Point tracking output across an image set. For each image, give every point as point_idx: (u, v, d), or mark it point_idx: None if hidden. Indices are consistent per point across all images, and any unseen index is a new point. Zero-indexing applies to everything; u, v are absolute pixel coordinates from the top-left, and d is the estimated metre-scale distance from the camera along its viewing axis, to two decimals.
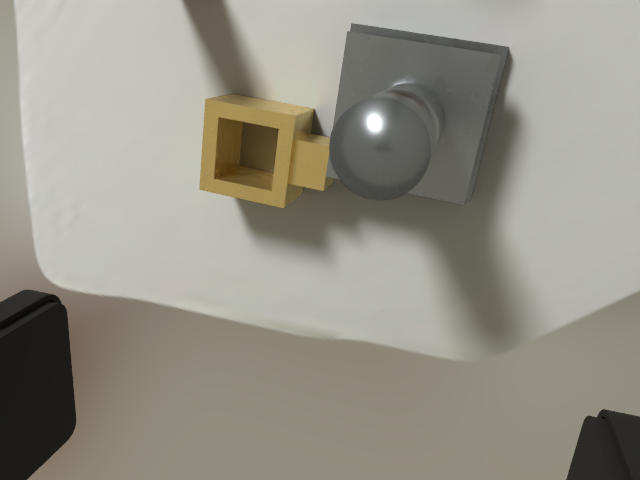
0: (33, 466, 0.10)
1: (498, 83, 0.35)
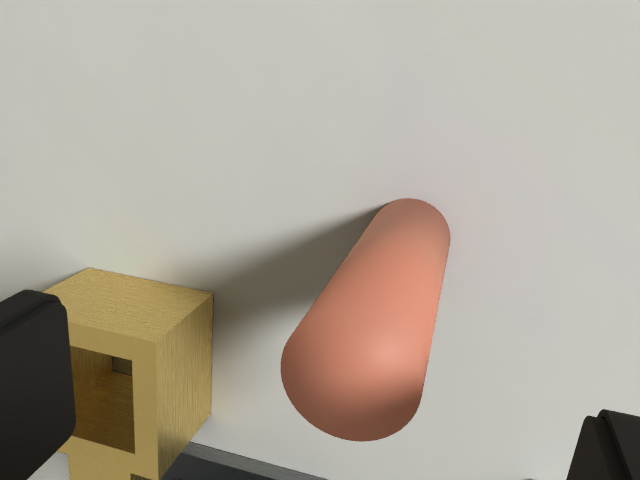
0: (33, 466, 0.10)
1: None
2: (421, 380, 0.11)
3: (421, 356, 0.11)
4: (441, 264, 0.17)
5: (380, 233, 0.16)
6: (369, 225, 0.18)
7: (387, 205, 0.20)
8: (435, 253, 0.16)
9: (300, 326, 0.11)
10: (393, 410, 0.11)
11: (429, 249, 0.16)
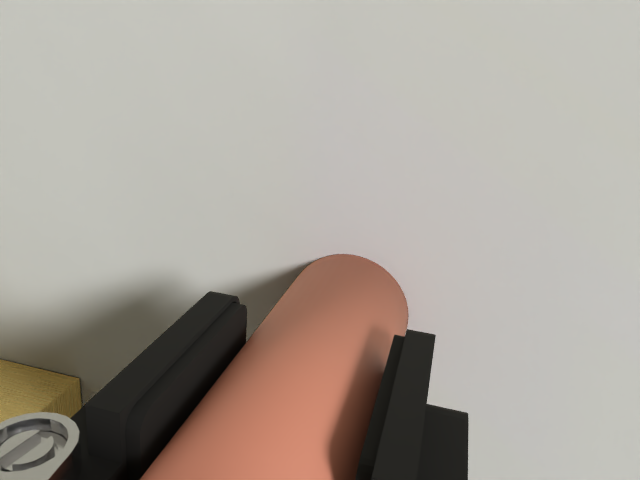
0: None
1: None
2: None
3: None
4: None
5: (272, 343, 0.09)
6: (274, 307, 0.12)
7: (312, 265, 0.13)
8: (370, 374, 0.09)
9: None
10: None
11: (357, 372, 0.09)
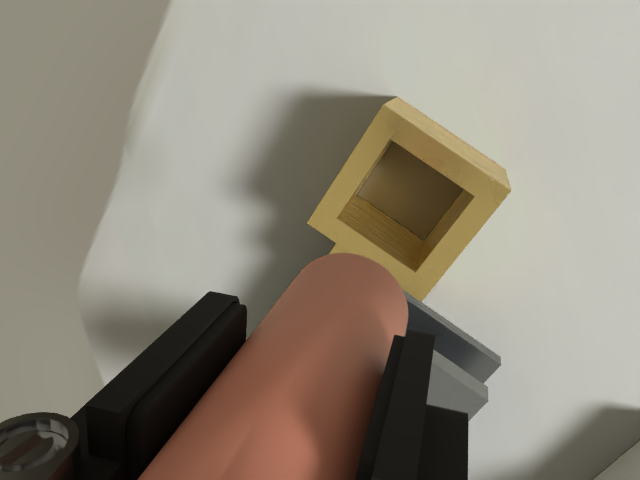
0: None
1: None
2: None
3: None
4: None
5: (272, 341, 0.09)
6: (274, 306, 0.12)
7: (311, 264, 0.13)
8: (370, 373, 0.09)
9: None
10: None
11: (357, 370, 0.09)
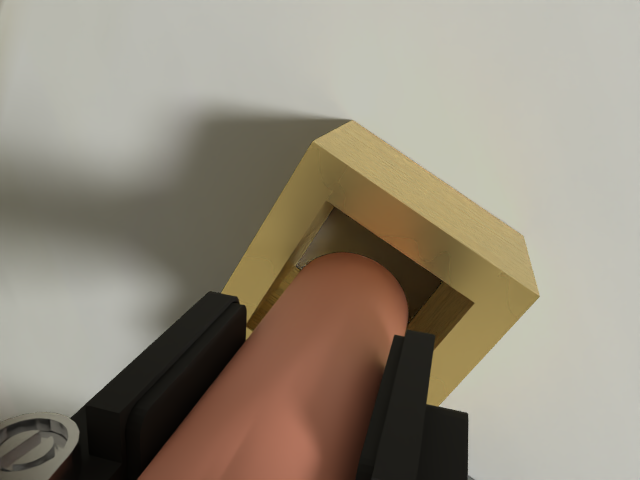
0: None
1: None
2: None
3: None
4: None
5: (272, 341, 0.09)
6: (274, 305, 0.12)
7: (312, 263, 0.13)
8: (370, 372, 0.09)
9: None
10: None
11: (357, 370, 0.09)
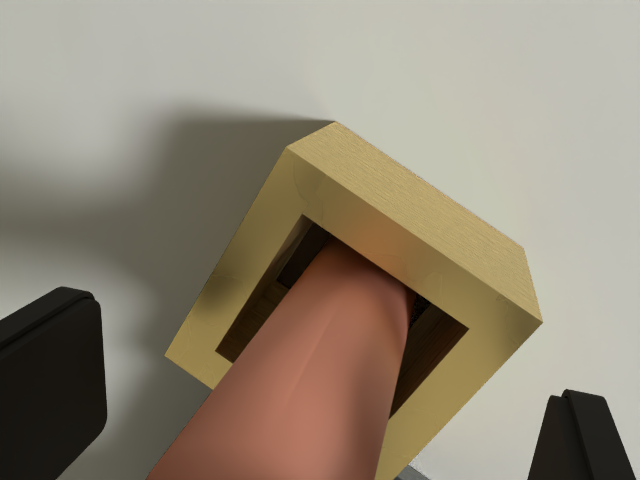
0: (68, 459, 0.10)
1: None
2: None
3: None
4: (404, 316, 0.12)
5: (320, 277, 0.12)
6: (314, 258, 0.14)
7: None
8: (395, 302, 0.12)
9: (162, 461, 0.07)
10: None
11: (386, 298, 0.12)
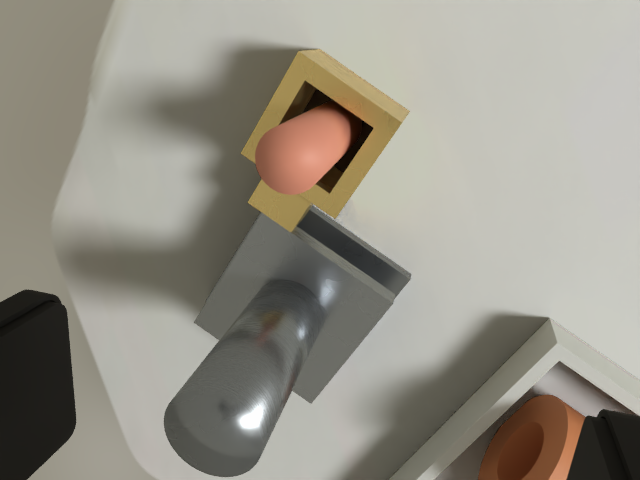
0: (33, 466, 0.10)
1: None
2: (322, 157, 0.23)
3: (323, 148, 0.23)
4: (348, 129, 0.29)
5: (312, 109, 0.28)
6: None
7: None
8: (344, 121, 0.28)
9: (264, 134, 0.23)
10: (310, 175, 0.23)
11: (340, 118, 0.28)
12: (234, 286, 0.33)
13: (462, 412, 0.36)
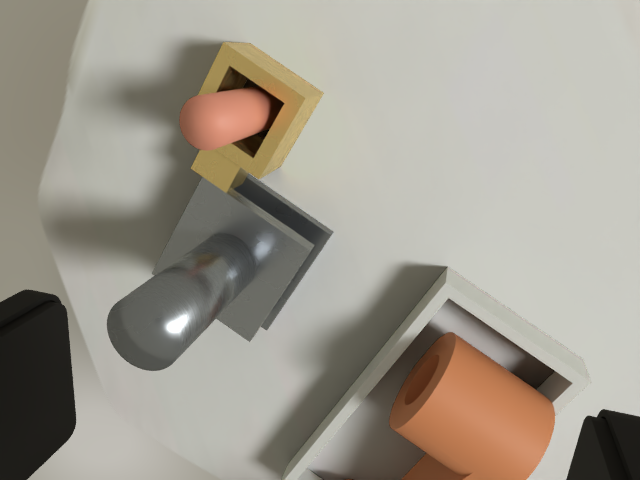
0: (33, 466, 0.10)
1: None
2: (229, 120, 0.30)
3: (231, 113, 0.30)
4: (267, 105, 0.35)
5: None
6: None
7: None
8: (263, 99, 0.35)
9: (185, 103, 0.30)
10: (221, 134, 0.30)
11: (259, 96, 0.35)
12: (183, 240, 0.40)
13: (381, 352, 0.42)
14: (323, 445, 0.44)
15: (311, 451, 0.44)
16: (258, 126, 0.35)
